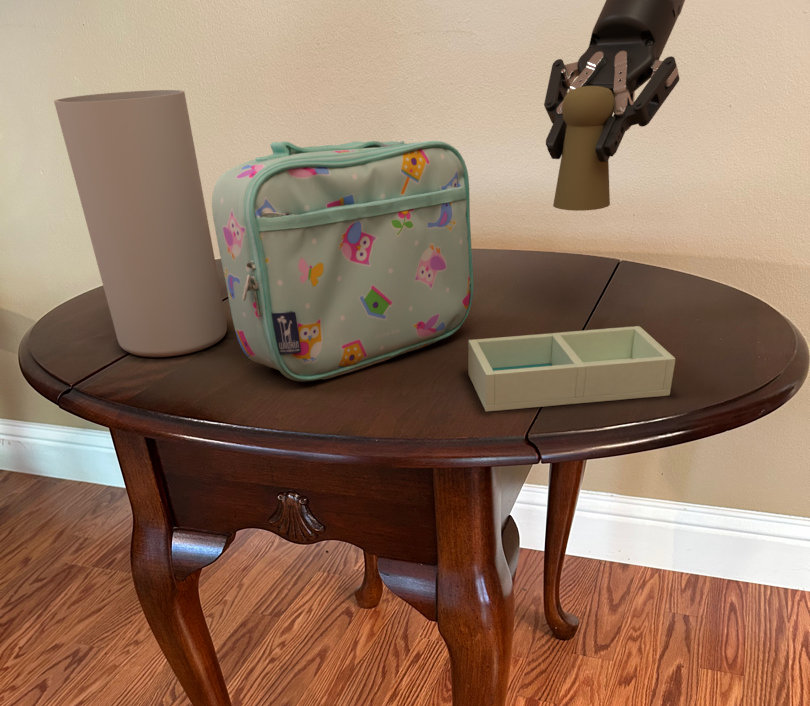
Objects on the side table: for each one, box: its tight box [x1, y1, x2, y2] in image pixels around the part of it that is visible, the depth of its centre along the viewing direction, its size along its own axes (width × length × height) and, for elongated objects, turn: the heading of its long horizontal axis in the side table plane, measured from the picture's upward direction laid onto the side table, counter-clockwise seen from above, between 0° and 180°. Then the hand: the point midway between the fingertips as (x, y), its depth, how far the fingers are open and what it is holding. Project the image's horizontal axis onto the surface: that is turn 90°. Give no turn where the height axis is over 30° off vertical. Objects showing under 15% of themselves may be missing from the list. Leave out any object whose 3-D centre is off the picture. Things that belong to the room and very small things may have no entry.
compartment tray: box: [467, 325, 676, 412], centre depth 73 cm, size 17×9×4 cm, turn 96°
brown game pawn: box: [552, 86, 615, 212], centre depth 79 cm, size 6×6×11 cm
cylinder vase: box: [53, 89, 228, 358], centre depth 83 cm, size 12×12×25 cm
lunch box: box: [211, 140, 475, 382], centre depth 77 cm, size 27×10×21 cm, turn 126°
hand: (576, 154), depth 78 cm, fingers closed on brown game pawn, 5 cm apart
